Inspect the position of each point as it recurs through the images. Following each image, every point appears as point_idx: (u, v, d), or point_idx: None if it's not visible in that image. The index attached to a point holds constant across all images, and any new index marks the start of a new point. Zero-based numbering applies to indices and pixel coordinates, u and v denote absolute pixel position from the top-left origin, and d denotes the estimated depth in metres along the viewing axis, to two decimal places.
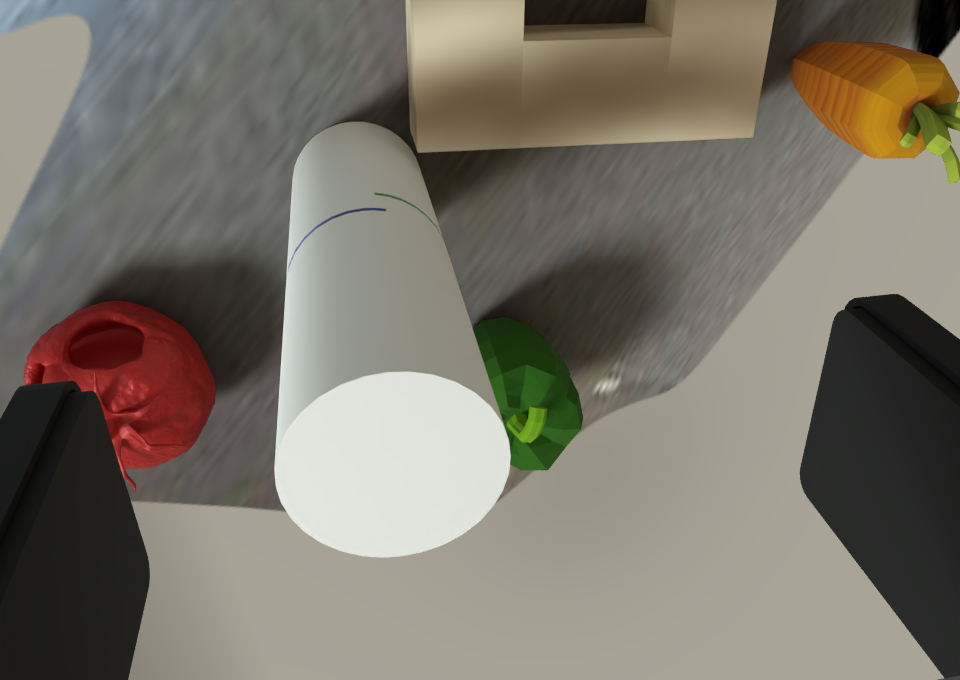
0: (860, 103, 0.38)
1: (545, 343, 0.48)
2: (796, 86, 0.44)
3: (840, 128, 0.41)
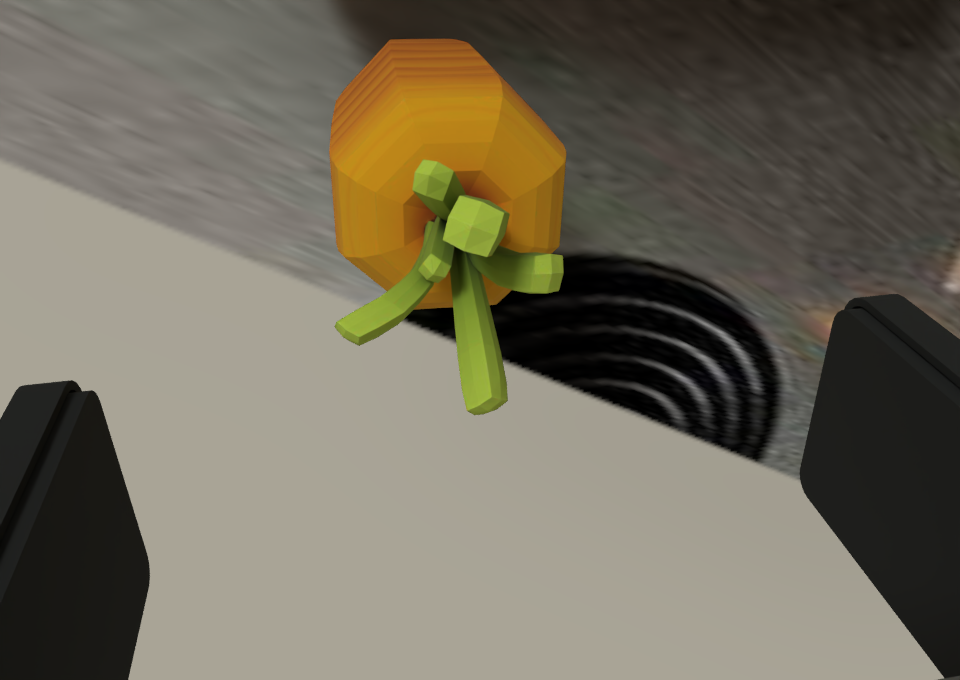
0: (464, 81, 0.15)
1: None
2: (394, 39, 0.21)
3: (371, 85, 0.17)
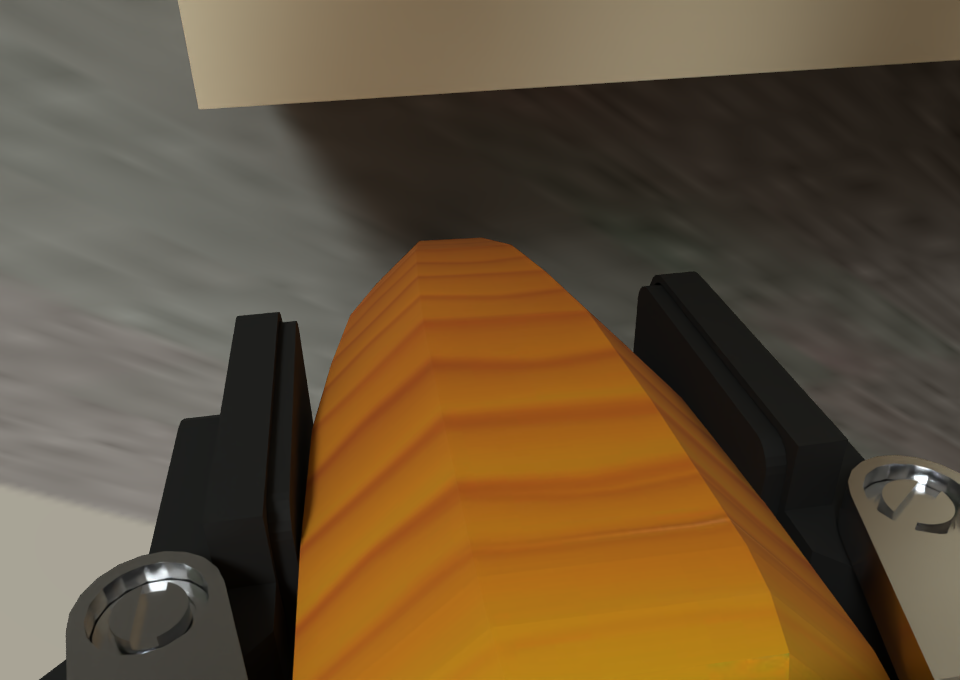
0: (663, 578, 0.06)
1: None
2: (423, 254, 0.11)
3: (393, 492, 0.07)
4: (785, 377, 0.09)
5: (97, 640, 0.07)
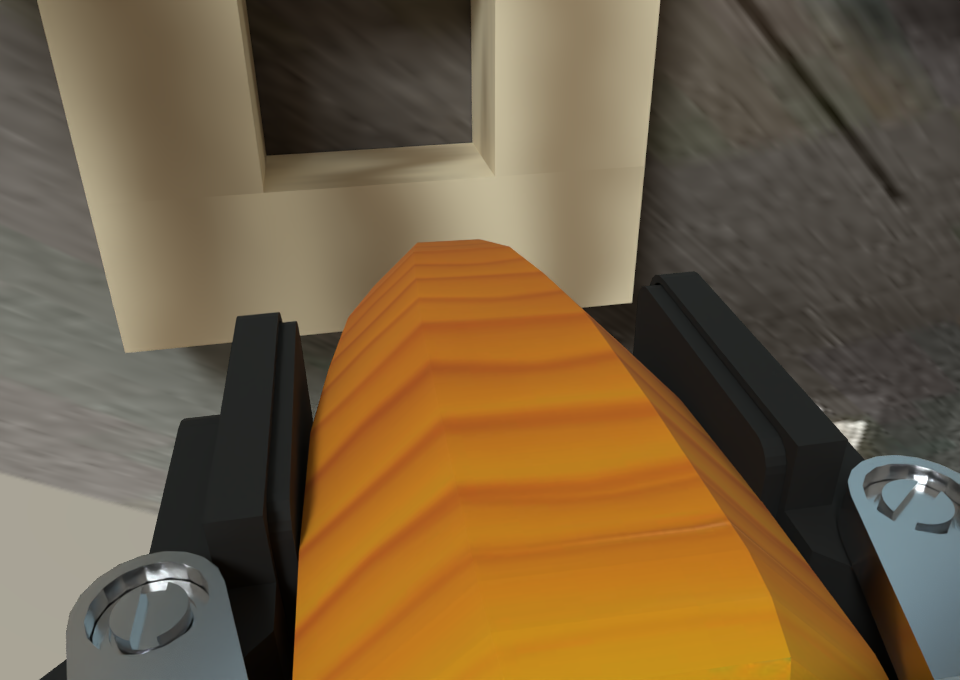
0: (663, 582, 0.06)
1: None
2: (421, 256, 0.11)
3: (392, 496, 0.07)
4: (785, 377, 0.09)
5: (98, 639, 0.07)
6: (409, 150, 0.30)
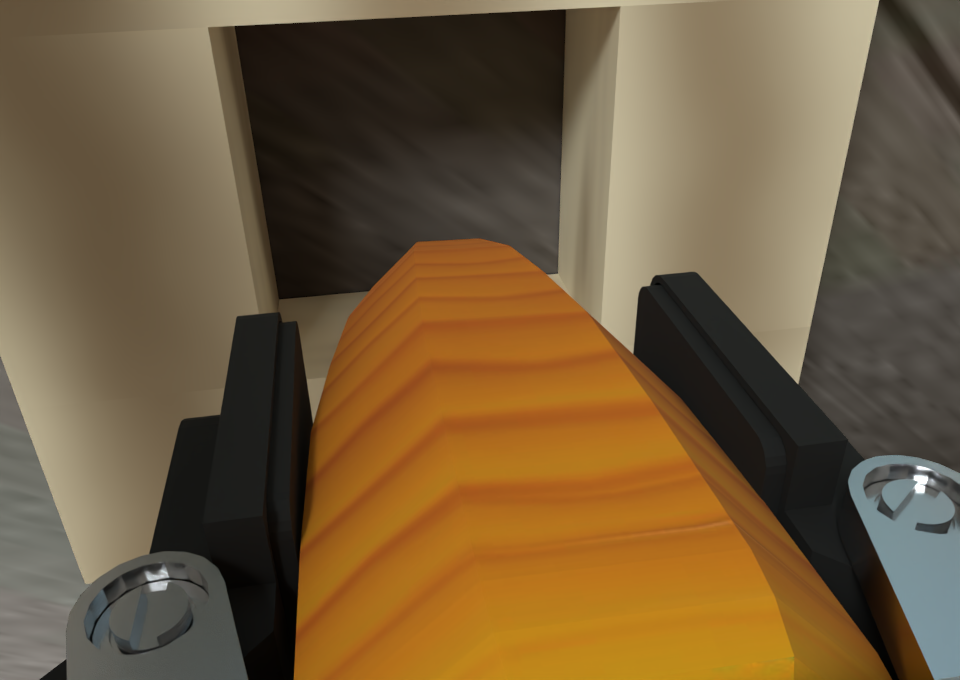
0: (666, 582, 0.06)
1: None
2: (421, 255, 0.11)
3: (393, 495, 0.07)
4: (785, 377, 0.09)
5: (97, 639, 0.07)
6: None
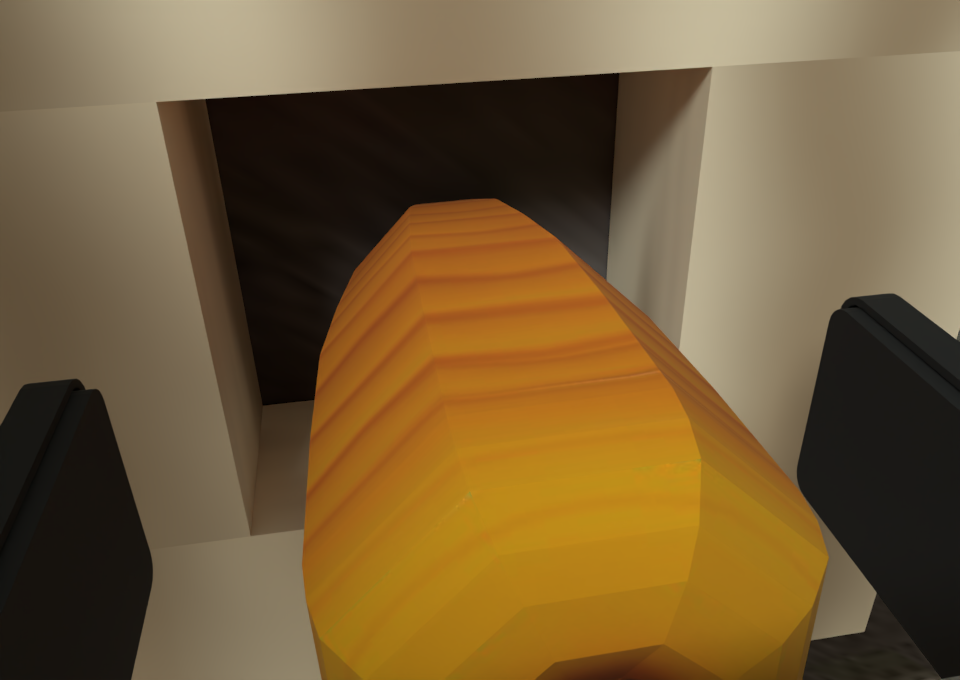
0: (599, 411, 0.07)
1: None
2: (416, 209, 0.13)
3: (384, 379, 0.08)
4: None
5: None
6: None
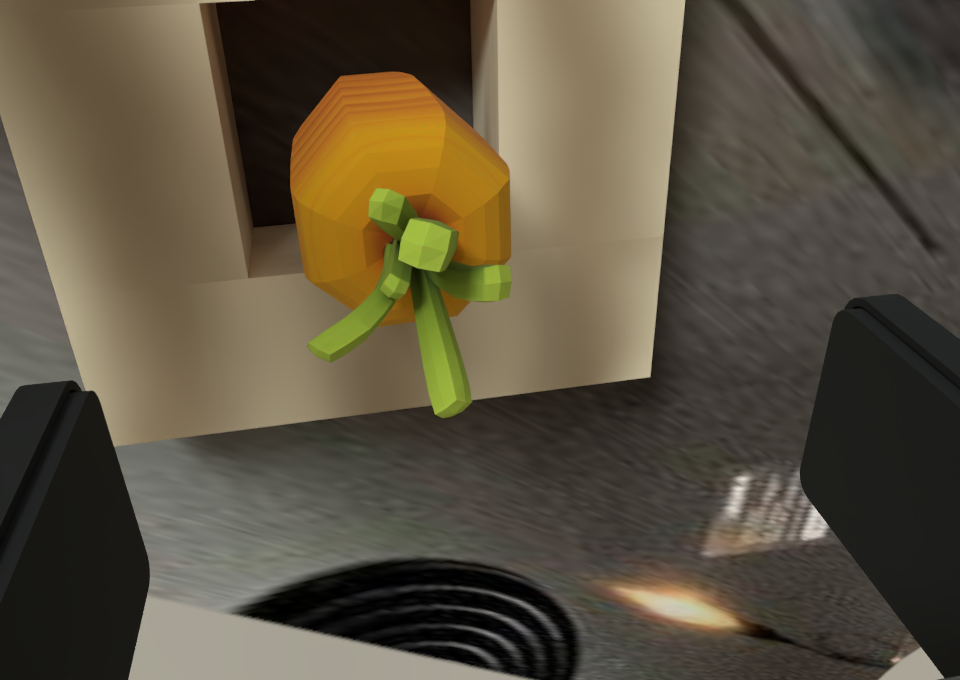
0: (409, 113, 0.17)
1: None
2: None
3: (324, 122, 0.18)
4: None
5: None
6: None
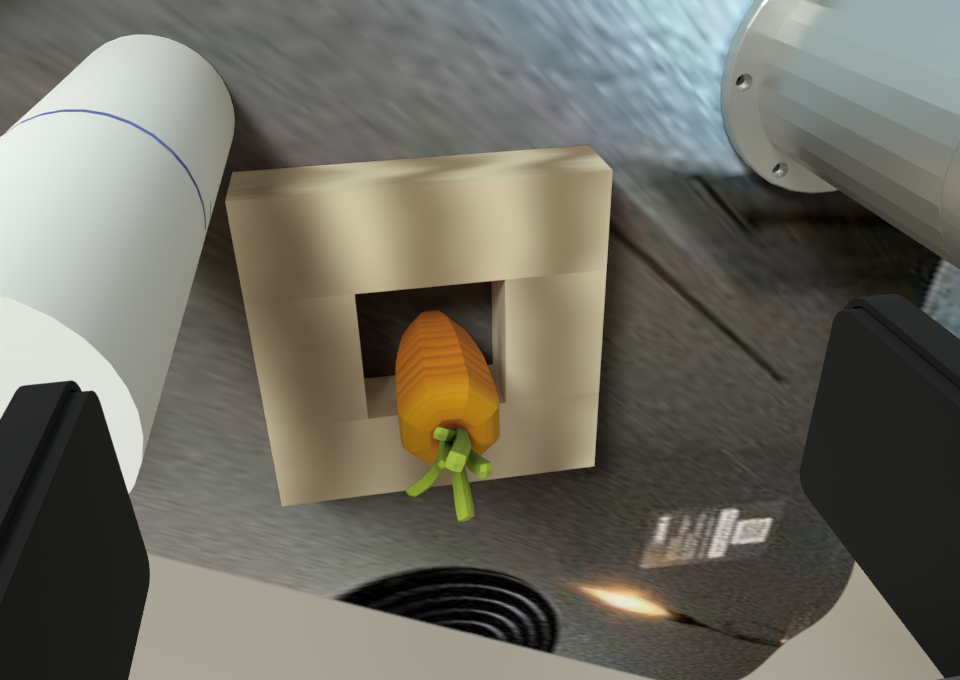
0: (453, 378, 0.37)
1: None
2: (421, 319, 0.43)
3: (413, 371, 0.38)
4: None
5: None
6: None
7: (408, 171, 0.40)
